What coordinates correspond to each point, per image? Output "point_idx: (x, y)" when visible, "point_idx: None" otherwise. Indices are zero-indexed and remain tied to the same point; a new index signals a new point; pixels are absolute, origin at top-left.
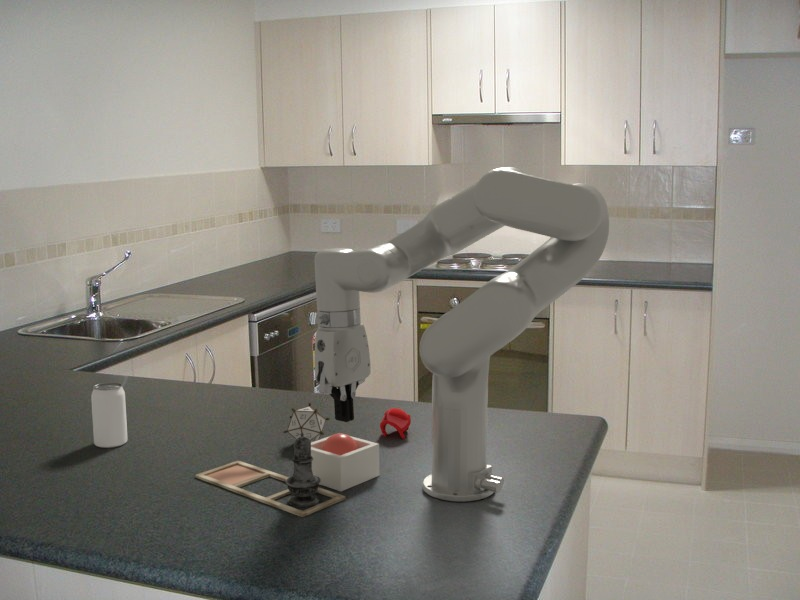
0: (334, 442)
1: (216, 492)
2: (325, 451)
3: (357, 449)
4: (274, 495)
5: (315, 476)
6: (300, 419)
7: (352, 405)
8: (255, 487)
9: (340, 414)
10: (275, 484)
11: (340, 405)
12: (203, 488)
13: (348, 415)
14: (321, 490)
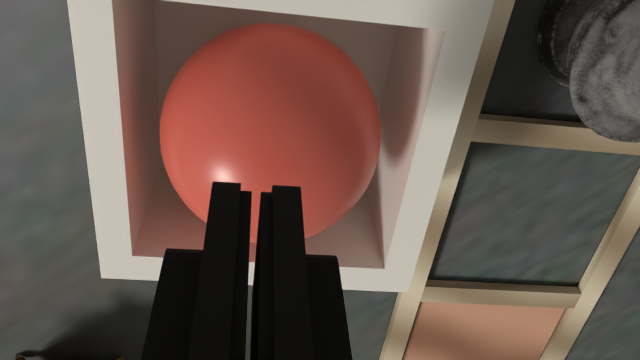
0: (354, 161)
1: (621, 307)
2: (419, 151)
3: (274, 7)
4: (625, 143)
5: (603, 39)
6: None
7: (211, 289)
8: (537, 252)
9: (338, 279)
10: (482, 221)
11: (348, 355)
12: (601, 348)
13: (293, 220)
14: (502, 16)
